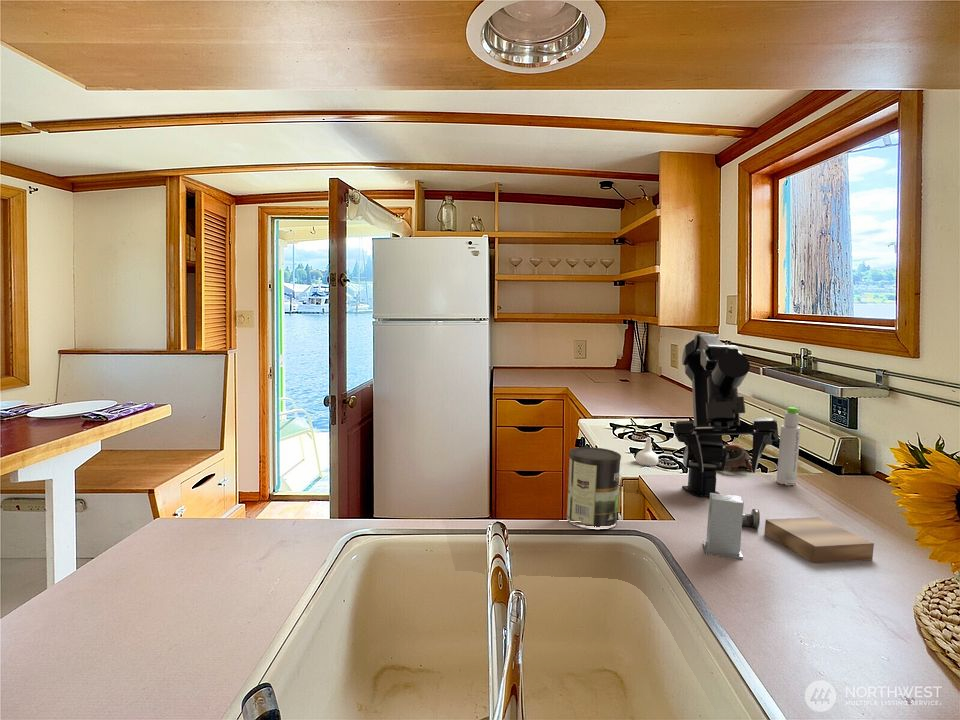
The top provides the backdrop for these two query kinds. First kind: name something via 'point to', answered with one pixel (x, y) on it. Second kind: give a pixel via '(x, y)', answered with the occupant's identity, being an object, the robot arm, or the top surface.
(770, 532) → the stand
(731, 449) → the pottery mug
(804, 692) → the top surface
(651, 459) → the garlic bulb
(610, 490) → the coffee can
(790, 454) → the bottle
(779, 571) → the top surface
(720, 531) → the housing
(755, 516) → the bolt
